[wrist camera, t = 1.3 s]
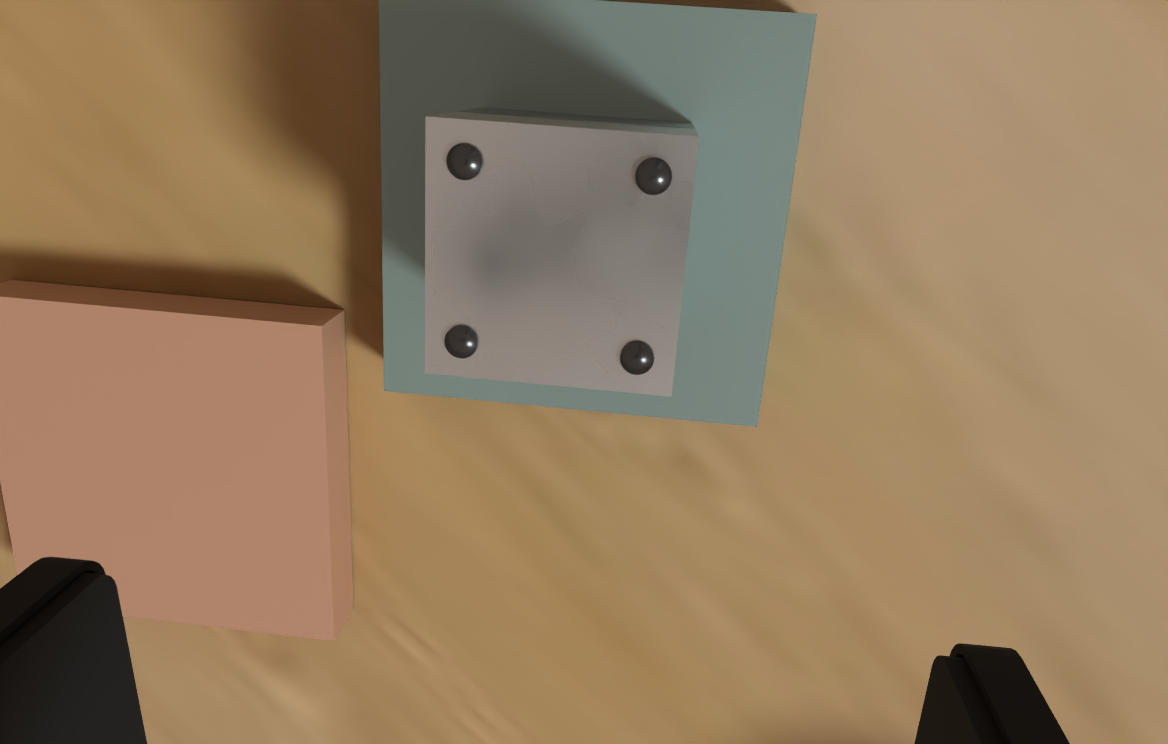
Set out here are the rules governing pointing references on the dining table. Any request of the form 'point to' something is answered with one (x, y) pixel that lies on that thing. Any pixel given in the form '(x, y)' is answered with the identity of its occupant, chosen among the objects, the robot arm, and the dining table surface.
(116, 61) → the dining table surface
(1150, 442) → the dining table surface
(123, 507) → the stand
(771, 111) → the stand
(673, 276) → the housing
